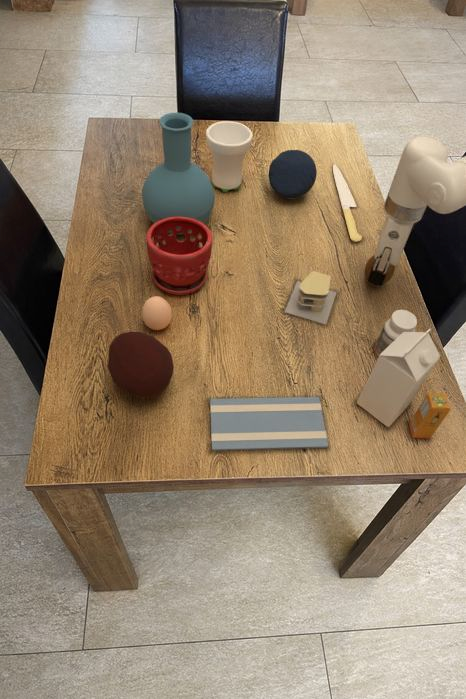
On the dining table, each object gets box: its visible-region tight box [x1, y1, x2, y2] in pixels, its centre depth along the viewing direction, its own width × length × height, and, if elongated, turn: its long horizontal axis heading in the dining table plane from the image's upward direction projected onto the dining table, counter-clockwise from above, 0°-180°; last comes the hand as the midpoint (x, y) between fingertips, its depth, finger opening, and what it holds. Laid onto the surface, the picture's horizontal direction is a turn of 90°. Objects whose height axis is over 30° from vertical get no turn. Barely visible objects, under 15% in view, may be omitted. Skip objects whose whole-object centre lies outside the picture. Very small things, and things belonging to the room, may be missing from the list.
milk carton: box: [356, 328, 441, 428], centre depth 85 cm, size 7×7×19 cm
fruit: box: [363, 254, 396, 287], centre depth 109 cm, size 6×6×8 cm
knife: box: [332, 163, 363, 243], centre depth 129 cm, size 1×33×4 cm
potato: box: [107, 331, 175, 399], centre depth 88 cm, size 11×13×10 cm
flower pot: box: [146, 217, 213, 295], centre depth 104 cm, size 13×13×12 cm
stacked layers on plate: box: [284, 270, 337, 326], centre depth 105 cm, size 10×9×6 cm
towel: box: [209, 396, 329, 452], centre depth 88 cm, size 20×10×1 cm, turn 93°
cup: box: [205, 120, 254, 193], centre depth 125 cm, size 11×11×14 cm
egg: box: [141, 295, 173, 331], centre depth 98 cm, size 6×6×8 cm
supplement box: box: [408, 392, 452, 440], centre depth 86 cm, size 3×3×10 cm
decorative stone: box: [268, 149, 318, 200], centre depth 126 cm, size 12×12×10 cm
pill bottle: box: [374, 309, 418, 357], centre depth 96 cm, size 6×6×10 cm
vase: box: [141, 112, 216, 236], centre depth 111 cm, size 16×16×25 cm
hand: (378, 272), depth 110 cm, fingers closed on fruit, 6 cm apart
